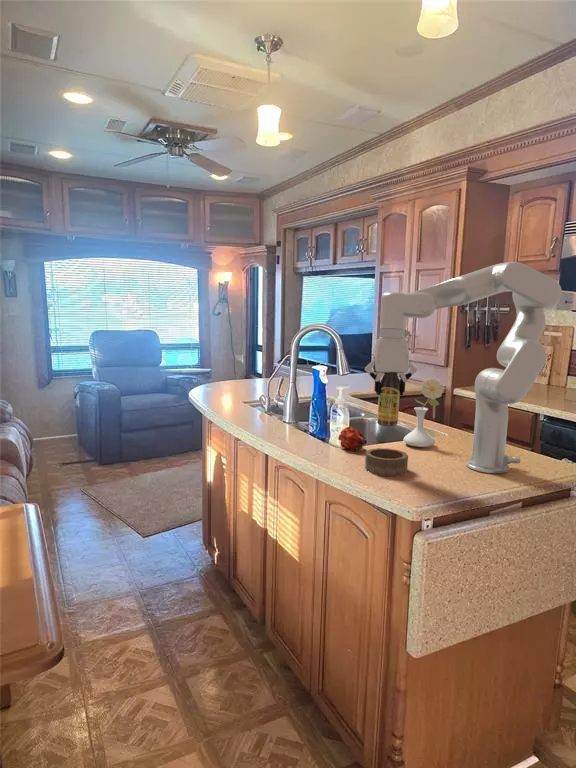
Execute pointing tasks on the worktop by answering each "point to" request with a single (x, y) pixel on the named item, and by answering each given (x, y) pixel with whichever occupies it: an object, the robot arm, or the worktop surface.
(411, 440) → the flower in vase
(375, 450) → the bottle holder
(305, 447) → the worktop surface
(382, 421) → the sauce bottle
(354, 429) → the dragon fruit
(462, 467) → the worktop surface
